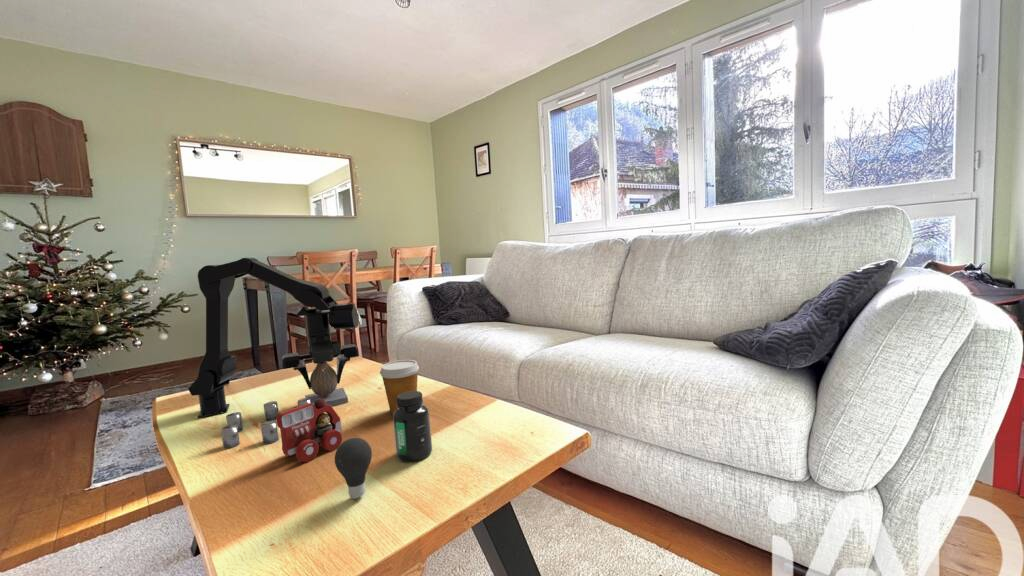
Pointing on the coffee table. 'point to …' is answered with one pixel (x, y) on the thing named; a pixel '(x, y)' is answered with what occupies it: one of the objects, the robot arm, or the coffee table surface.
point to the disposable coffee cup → (399, 379)
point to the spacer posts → (267, 428)
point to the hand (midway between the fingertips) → (324, 386)
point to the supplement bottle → (412, 427)
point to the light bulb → (354, 464)
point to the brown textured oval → (323, 379)
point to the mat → (331, 397)
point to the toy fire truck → (309, 430)
